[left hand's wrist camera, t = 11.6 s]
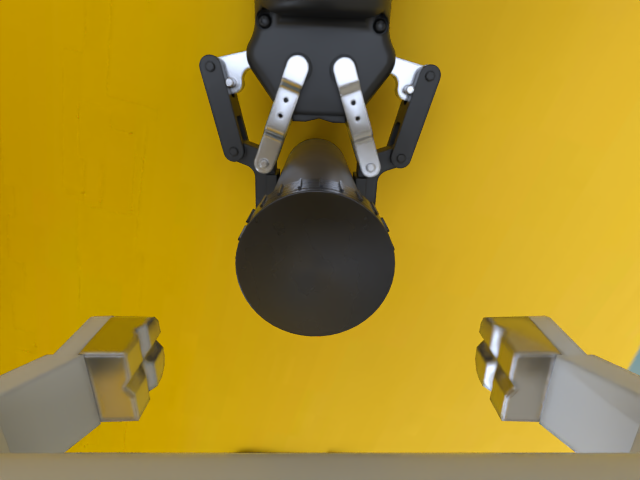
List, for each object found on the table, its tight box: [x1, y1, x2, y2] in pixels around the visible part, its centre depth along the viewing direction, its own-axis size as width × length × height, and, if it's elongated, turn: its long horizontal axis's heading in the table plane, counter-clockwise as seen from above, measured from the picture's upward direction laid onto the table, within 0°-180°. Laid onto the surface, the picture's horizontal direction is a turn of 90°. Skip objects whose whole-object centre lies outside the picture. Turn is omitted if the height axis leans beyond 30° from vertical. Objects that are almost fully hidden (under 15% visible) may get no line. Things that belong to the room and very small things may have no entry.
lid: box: [235, 177, 395, 336], centre depth 15 cm, size 6×6×2 cm
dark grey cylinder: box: [274, 139, 357, 191], centre depth 24 cm, size 5×5×19 cm
